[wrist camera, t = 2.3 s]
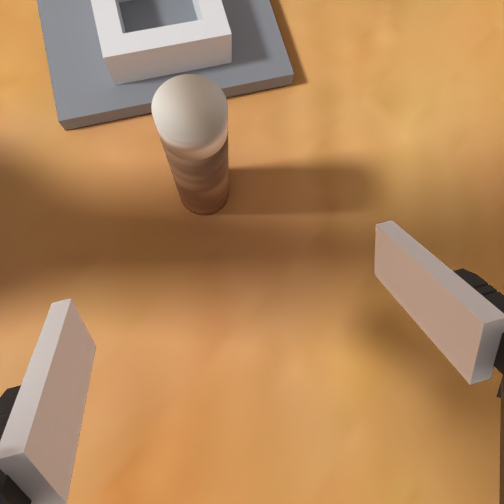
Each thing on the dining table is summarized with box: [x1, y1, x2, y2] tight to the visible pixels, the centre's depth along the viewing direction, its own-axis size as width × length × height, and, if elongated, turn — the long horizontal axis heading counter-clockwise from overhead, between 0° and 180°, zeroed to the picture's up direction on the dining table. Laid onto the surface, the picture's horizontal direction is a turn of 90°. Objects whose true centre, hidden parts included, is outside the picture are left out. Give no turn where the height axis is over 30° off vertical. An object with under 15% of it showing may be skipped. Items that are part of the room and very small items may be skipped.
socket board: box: [37, 0, 294, 130], centre depth 36 cm, size 22×16×5 cm
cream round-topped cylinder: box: [151, 74, 229, 215], centre depth 29 cm, size 4×4×13 cm
